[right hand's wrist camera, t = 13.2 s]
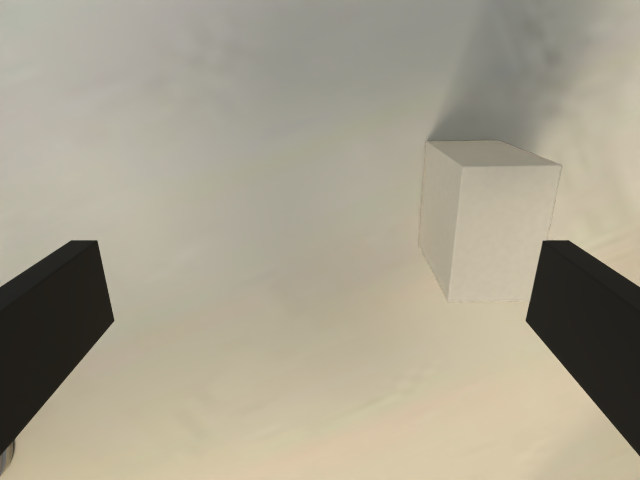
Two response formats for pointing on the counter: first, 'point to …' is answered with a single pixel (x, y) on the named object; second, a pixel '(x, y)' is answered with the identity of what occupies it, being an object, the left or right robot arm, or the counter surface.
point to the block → (485, 218)
